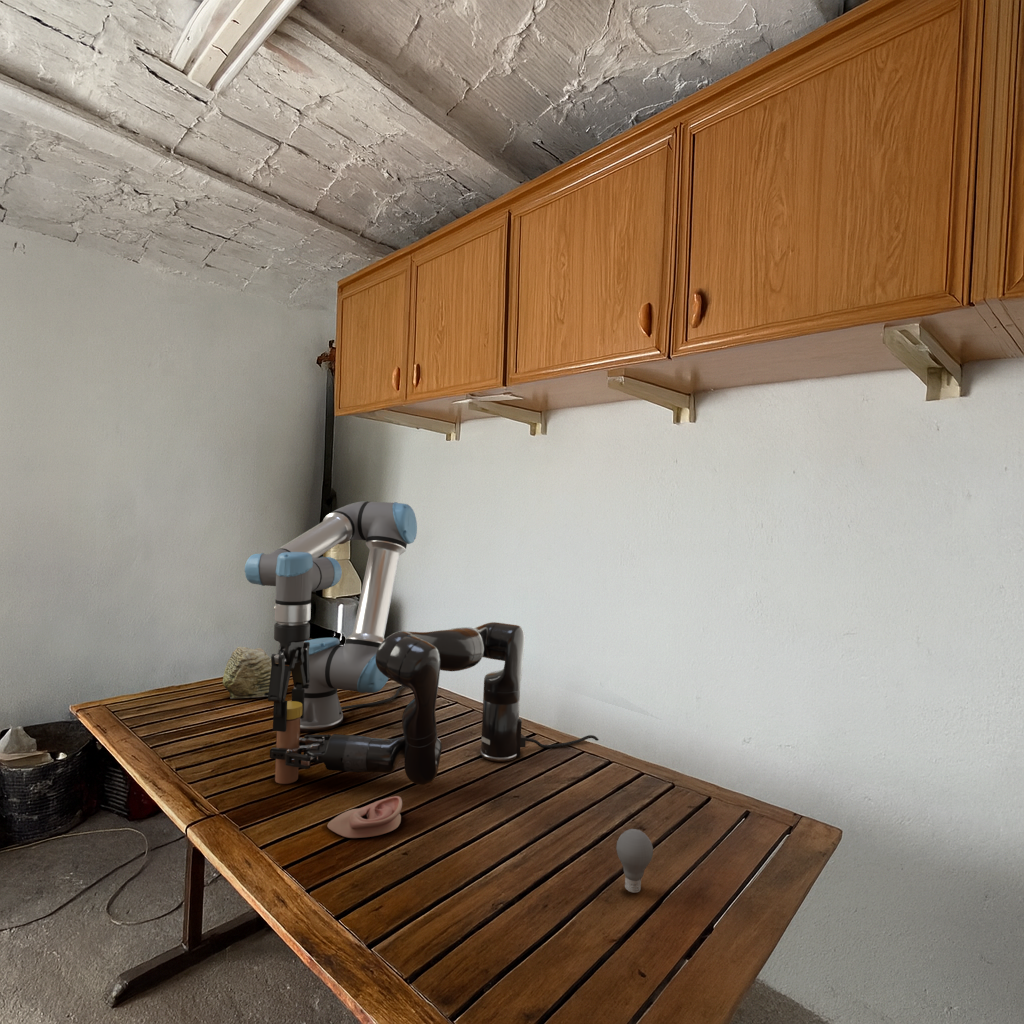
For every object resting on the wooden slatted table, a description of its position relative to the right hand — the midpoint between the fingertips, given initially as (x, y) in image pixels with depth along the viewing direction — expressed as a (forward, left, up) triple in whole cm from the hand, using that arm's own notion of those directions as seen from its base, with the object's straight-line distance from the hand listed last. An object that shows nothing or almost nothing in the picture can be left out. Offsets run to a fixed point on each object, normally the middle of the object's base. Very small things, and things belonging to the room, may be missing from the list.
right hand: (276, 748), depth 141 cm
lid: (-2, +1, +10) cm, 10 cm away
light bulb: (-55, +60, -7) cm, 82 cm away
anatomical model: (-16, +26, -7) cm, 31 cm away
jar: (-2, +1, -7) cm, 7 cm away
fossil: (+5, -63, -7) cm, 63 cm away
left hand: (-2, +1, +6) cm, 6 cm away
